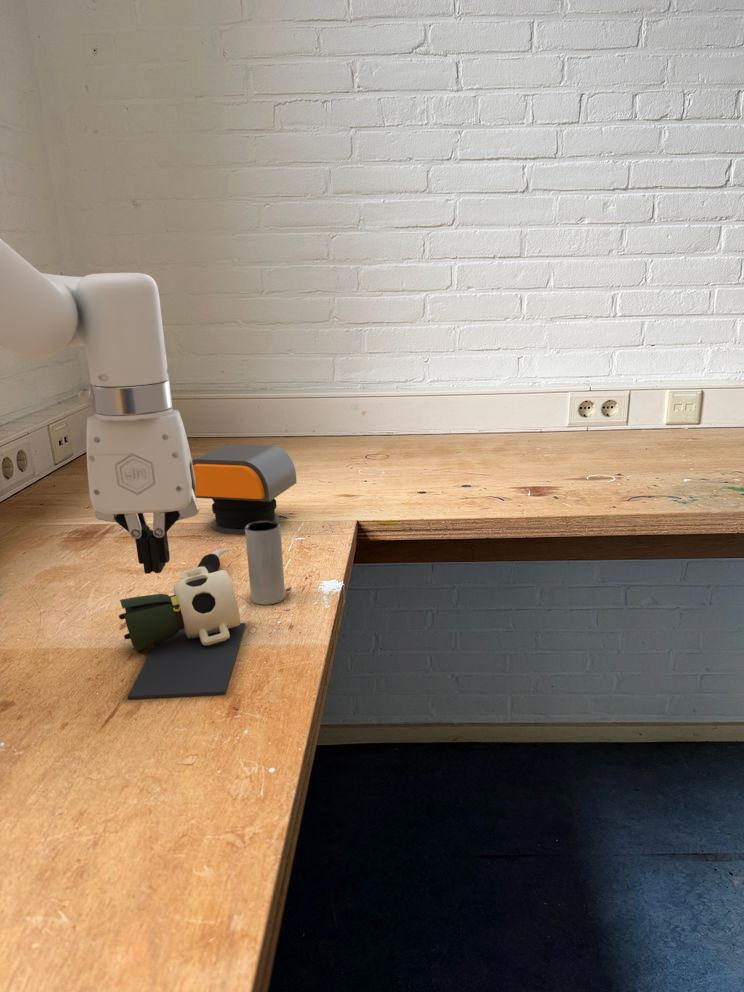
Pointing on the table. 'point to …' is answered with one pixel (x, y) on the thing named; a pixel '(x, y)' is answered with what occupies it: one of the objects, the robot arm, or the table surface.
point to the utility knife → (212, 560)
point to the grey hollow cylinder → (265, 562)
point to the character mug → (184, 610)
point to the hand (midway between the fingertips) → (155, 568)
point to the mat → (188, 667)
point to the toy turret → (243, 483)
